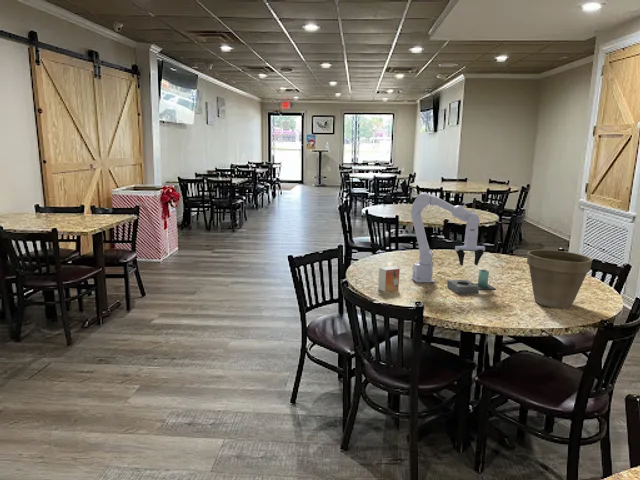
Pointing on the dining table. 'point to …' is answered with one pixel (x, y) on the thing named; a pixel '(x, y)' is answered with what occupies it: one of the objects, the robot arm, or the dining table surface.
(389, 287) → the small box
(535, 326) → the dining table surface
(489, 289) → the mat
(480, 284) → the teal and grey cylinder
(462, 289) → the housing
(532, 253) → the plant pot
